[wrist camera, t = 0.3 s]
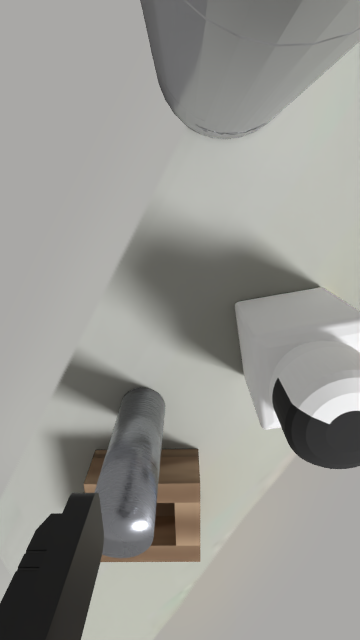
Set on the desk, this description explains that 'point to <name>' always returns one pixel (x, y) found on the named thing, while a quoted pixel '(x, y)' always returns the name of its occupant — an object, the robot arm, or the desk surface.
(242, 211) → the desk surface
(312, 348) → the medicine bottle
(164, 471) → the bore block
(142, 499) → the peg
